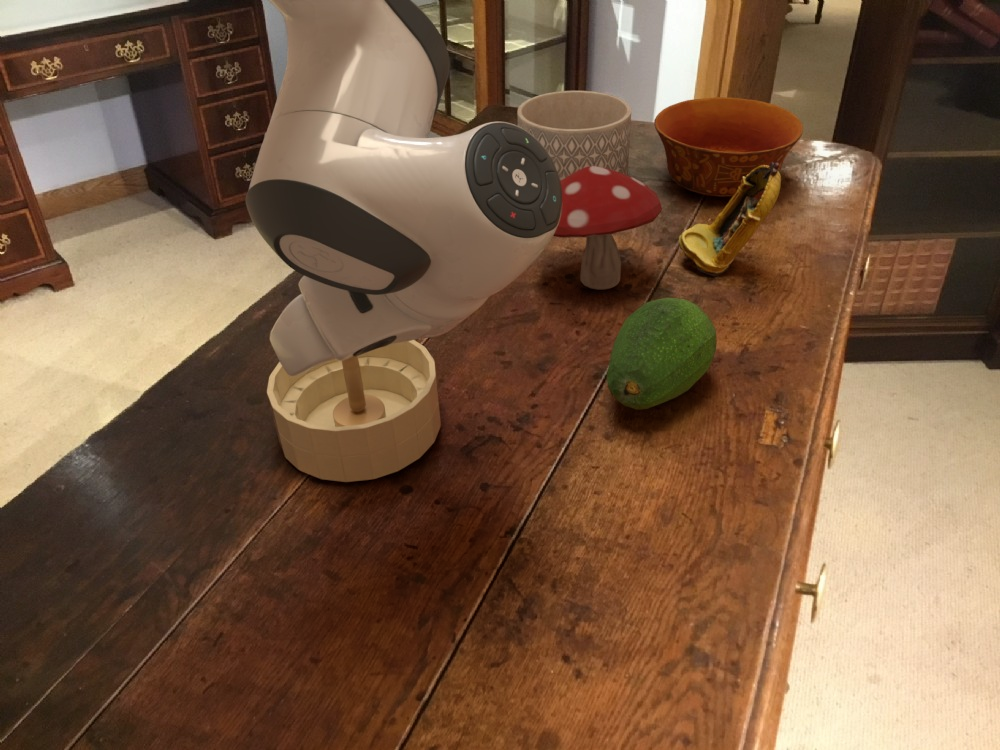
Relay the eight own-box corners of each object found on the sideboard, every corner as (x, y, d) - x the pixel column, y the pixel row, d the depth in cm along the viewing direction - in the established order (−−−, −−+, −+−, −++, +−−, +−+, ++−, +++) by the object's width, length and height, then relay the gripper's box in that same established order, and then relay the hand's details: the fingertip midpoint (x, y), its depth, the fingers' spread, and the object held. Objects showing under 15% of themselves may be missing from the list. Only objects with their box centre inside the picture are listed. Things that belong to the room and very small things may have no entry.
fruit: (660, 448, 83) (668, 366, 77) (575, 410, 88) (577, 331, 82) (729, 372, 93) (742, 294, 87) (649, 342, 98) (656, 266, 92)
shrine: (771, 259, 112) (791, 150, 103) (758, 289, 106) (778, 176, 97) (685, 243, 116) (697, 137, 107) (668, 271, 110) (679, 161, 101)
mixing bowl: (416, 495, 79) (408, 438, 75) (254, 475, 82) (238, 420, 78) (457, 389, 92) (452, 336, 88) (315, 375, 95) (305, 323, 91)
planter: (599, 224, 122) (602, 138, 114) (499, 202, 128) (496, 119, 121) (643, 180, 133) (649, 99, 125) (549, 162, 140) (549, 84, 132)
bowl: (777, 225, 119) (790, 157, 113) (631, 202, 127) (636, 137, 121) (802, 168, 134) (814, 105, 128) (670, 150, 142) (676, 90, 136)
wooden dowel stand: (377, 444, 84) (354, 302, 74) (328, 439, 85) (299, 298, 75) (393, 411, 88) (373, 272, 78) (345, 406, 89) (320, 268, 79)
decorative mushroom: (518, 306, 105) (515, 193, 96) (544, 245, 117) (543, 140, 108) (649, 319, 101) (658, 204, 92) (661, 255, 114) (670, 147, 105)
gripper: (513, 195, 67) (449, 258, 80) (280, 283, 57) (247, 341, 70) (550, 265, 67) (480, 318, 79) (323, 366, 57) (282, 409, 69)
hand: (369, 330), depth 74 cm, fingers open, 8 cm apart
